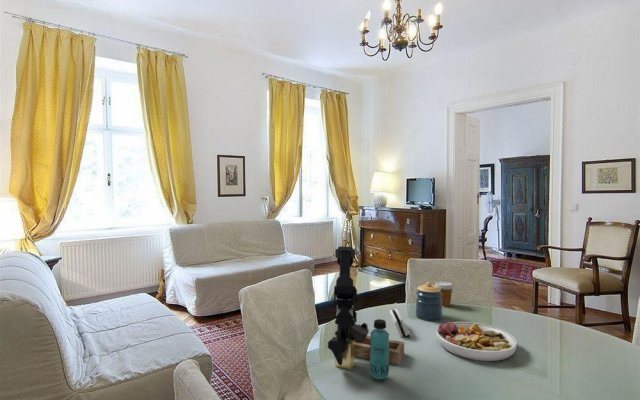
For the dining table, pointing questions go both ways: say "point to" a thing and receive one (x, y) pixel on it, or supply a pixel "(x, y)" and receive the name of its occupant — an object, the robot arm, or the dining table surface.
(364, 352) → the recessed tan tray
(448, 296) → the disposable coffee cup
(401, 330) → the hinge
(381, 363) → the beverage bottle
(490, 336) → the charcuterie platter
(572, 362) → the dining table surface
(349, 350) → the tan block
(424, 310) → the canister
